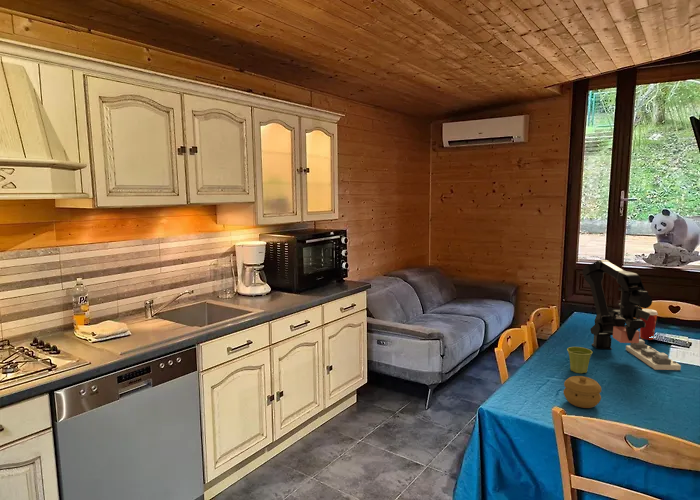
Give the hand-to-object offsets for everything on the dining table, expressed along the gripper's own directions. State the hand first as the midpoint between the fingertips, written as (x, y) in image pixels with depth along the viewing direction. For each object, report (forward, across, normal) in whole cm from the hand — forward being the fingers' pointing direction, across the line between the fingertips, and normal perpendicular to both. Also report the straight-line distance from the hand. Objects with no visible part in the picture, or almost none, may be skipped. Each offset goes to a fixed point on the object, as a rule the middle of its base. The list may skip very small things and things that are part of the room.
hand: (625, 337), depth 208 cm
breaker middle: (+7, 0, -10) cm, 13 cm away
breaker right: (+6, -9, -11) cm, 15 cm away
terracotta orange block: (+1, 0, 0) cm, 1 cm away
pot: (+10, -46, +36) cm, 59 cm away
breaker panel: (+10, 0, -12) cm, 15 cm away
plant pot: (+10, -15, +25) cm, 31 cm away
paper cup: (+10, +30, -25) cm, 40 cm away
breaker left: (+6, +9, -10) cm, 15 cm away
